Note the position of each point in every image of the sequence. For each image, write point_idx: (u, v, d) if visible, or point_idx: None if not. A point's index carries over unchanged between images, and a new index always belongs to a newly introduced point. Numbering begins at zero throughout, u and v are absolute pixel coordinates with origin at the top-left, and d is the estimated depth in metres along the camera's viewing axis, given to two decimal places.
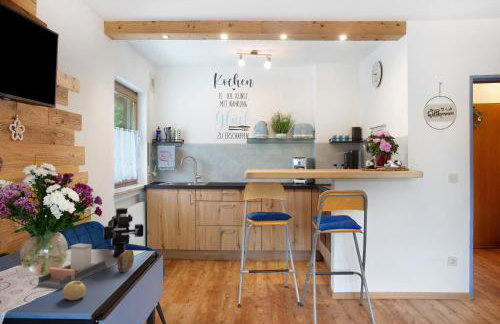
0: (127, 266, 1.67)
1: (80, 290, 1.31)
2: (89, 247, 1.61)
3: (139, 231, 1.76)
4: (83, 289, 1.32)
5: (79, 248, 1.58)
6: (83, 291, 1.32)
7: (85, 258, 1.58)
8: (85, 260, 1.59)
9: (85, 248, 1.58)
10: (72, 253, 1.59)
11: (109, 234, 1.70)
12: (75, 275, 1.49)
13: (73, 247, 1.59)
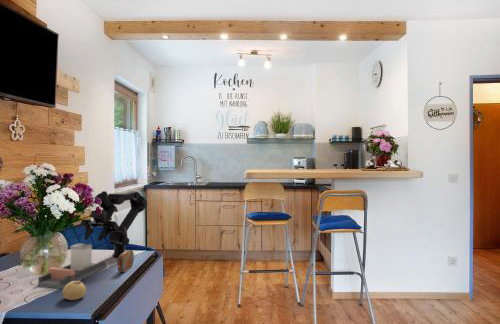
0: (127, 266, 1.67)
1: (80, 290, 1.31)
2: (89, 247, 1.61)
3: (109, 229, 1.71)
4: (83, 289, 1.32)
5: (79, 248, 1.58)
6: (83, 291, 1.32)
7: (85, 258, 1.58)
8: (85, 260, 1.59)
9: (85, 248, 1.58)
10: (72, 253, 1.59)
11: None
12: (75, 275, 1.49)
13: (73, 247, 1.59)
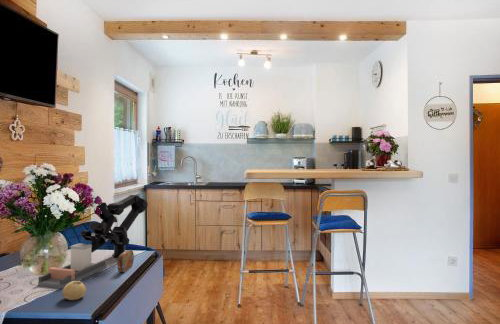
0: (127, 266, 1.67)
1: (80, 290, 1.31)
2: (89, 247, 1.61)
3: (103, 240, 1.72)
4: (83, 289, 1.32)
5: (79, 248, 1.58)
6: (83, 291, 1.32)
7: (85, 258, 1.58)
8: (85, 260, 1.59)
9: (85, 248, 1.58)
10: (72, 253, 1.59)
11: None
12: (75, 275, 1.49)
13: (73, 247, 1.59)
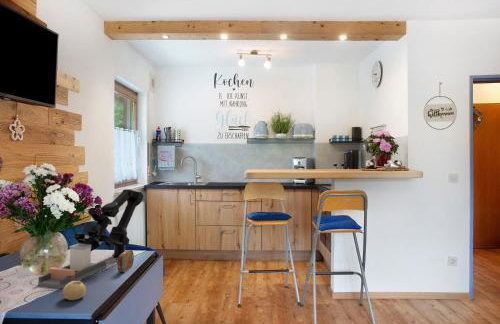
0: (127, 266, 1.67)
1: (80, 290, 1.31)
2: (88, 247, 1.61)
3: (96, 243, 1.67)
4: (83, 289, 1.32)
5: (78, 248, 1.58)
6: (83, 291, 1.32)
7: (84, 258, 1.58)
8: (84, 260, 1.58)
9: (84, 248, 1.58)
10: (71, 253, 1.59)
11: None
12: (75, 275, 1.49)
13: (72, 247, 1.58)
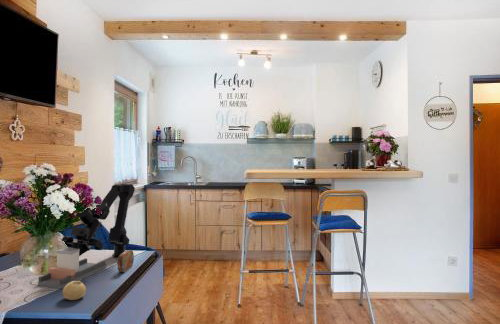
0: (127, 266, 1.67)
1: (80, 290, 1.31)
2: (76, 252, 1.53)
3: (85, 247, 1.59)
4: (83, 289, 1.32)
5: (66, 253, 1.50)
6: (83, 291, 1.32)
7: (71, 263, 1.50)
8: (72, 265, 1.51)
9: (72, 253, 1.50)
10: (58, 258, 1.51)
11: None
12: (75, 275, 1.49)
13: (59, 252, 1.51)
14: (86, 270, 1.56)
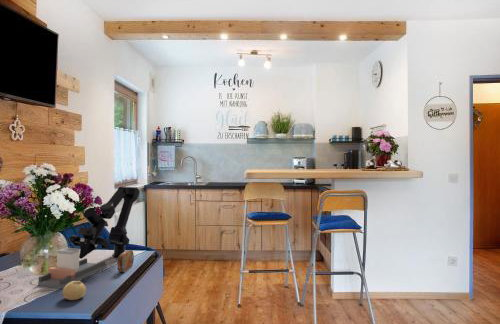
0: (127, 266, 1.67)
1: (80, 290, 1.31)
2: (77, 252, 1.53)
3: (92, 246, 1.64)
4: (83, 289, 1.32)
5: (66, 253, 1.50)
6: (83, 291, 1.32)
7: (72, 263, 1.50)
8: (72, 265, 1.51)
9: (72, 253, 1.51)
10: (59, 258, 1.51)
11: None
12: (75, 275, 1.49)
13: (60, 252, 1.51)
14: (86, 270, 1.56)
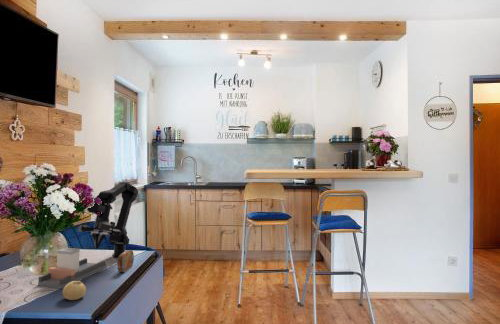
0: (127, 266, 1.67)
1: (80, 290, 1.31)
2: (77, 252, 1.53)
3: None
4: (83, 289, 1.32)
5: (66, 253, 1.50)
6: (83, 291, 1.32)
7: (72, 263, 1.50)
8: (72, 265, 1.51)
9: (72, 253, 1.51)
10: (59, 258, 1.51)
11: (93, 234, 1.69)
12: (75, 275, 1.49)
13: (60, 252, 1.51)
14: (86, 270, 1.56)
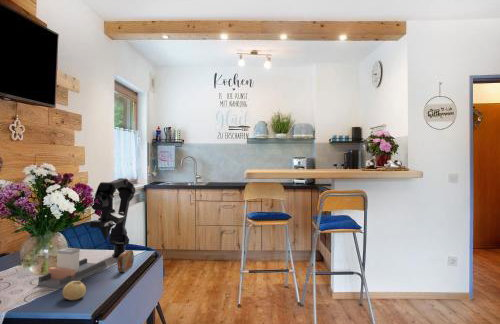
0: (127, 266, 1.67)
1: (80, 290, 1.31)
2: (77, 252, 1.53)
3: None
4: (83, 289, 1.32)
5: (66, 253, 1.50)
6: (83, 291, 1.32)
7: (72, 263, 1.50)
8: (72, 265, 1.51)
9: (72, 253, 1.51)
10: (59, 258, 1.51)
11: (102, 226, 1.71)
12: (75, 275, 1.49)
13: (60, 252, 1.51)
14: (86, 270, 1.56)
